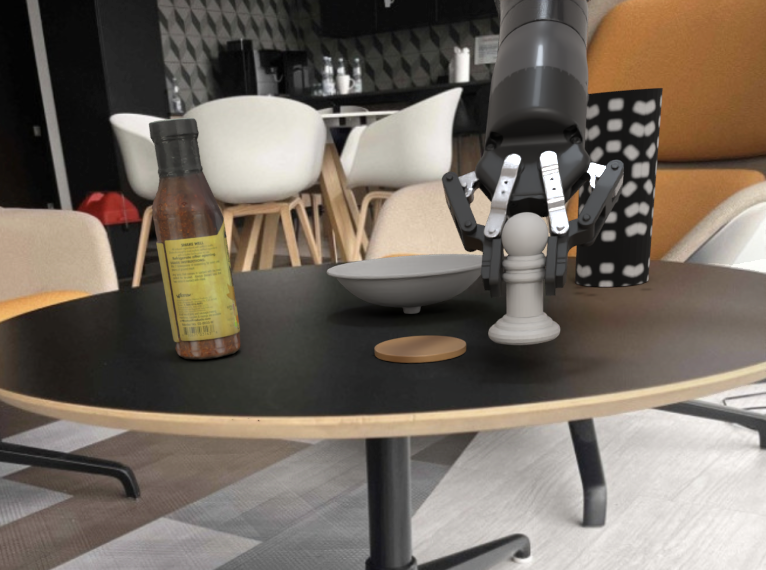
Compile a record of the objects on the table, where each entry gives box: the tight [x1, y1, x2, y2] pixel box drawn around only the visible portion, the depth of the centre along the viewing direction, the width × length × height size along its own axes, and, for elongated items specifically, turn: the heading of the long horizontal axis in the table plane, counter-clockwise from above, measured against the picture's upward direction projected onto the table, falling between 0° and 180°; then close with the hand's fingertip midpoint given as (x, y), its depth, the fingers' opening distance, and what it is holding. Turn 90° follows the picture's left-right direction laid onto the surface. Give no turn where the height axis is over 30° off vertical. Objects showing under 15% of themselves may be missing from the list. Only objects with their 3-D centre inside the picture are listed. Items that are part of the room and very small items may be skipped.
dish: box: [326, 253, 483, 315], centre depth 92 cm, size 18×14×5 cm
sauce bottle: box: [148, 117, 241, 361], centre depth 77 cm, size 6×6×20 cm
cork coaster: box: [374, 335, 467, 364], centre depth 76 cm, size 8×8×1 cm
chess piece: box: [487, 212, 561, 346], centre depth 64 cm, size 5×5×9 cm
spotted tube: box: [574, 87, 664, 288], centre depth 99 cm, size 8×8×20 cm
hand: (522, 289), depth 63 cm, fingers closed on chess piece, 3 cm apart
